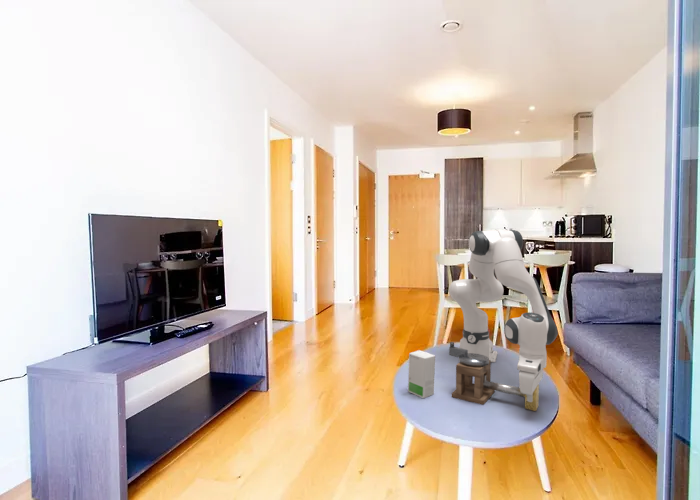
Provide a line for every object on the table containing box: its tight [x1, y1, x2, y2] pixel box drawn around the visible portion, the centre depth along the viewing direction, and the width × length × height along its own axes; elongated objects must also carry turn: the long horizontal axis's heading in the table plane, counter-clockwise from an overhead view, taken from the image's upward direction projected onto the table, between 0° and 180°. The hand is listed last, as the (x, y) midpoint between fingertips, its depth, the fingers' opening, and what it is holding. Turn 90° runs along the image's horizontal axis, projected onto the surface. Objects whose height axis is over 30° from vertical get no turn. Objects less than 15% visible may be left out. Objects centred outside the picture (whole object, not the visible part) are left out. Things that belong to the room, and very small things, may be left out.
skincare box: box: [407, 349, 436, 399], centre depth 156 cm, size 8×7×16 cm
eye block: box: [451, 360, 495, 406], centre depth 154 cm, size 14×12×12 cm
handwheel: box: [448, 341, 489, 367], centre depth 155 cm, size 16×11×6 cm
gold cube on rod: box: [483, 375, 540, 412], centre depth 147 cm, size 4×20×8 cm, turn 55°
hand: (531, 398), depth 142 cm, fingers closed on gold cube on rod, 4 cm apart
